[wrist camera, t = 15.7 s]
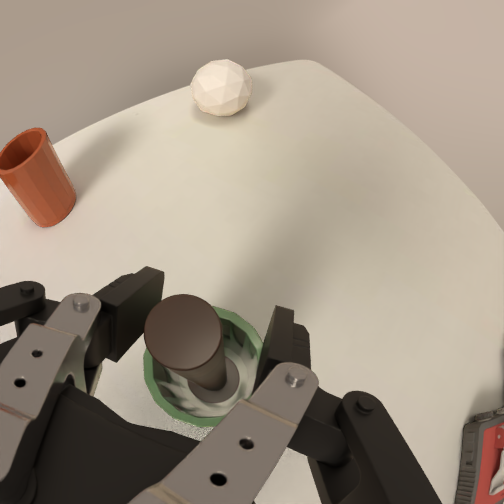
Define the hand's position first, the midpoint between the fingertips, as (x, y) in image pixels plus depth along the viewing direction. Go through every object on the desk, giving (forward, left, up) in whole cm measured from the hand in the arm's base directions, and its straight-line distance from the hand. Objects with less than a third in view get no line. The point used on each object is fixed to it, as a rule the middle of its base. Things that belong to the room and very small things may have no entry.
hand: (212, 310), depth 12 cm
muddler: (-1, -1, -12) cm, 12 cm away
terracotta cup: (-10, +23, -13) cm, 28 cm away
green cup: (-1, -1, -13) cm, 13 cm away
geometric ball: (+14, +28, -13) cm, 33 cm away
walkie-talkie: (+18, -23, -13) cm, 32 cm away
